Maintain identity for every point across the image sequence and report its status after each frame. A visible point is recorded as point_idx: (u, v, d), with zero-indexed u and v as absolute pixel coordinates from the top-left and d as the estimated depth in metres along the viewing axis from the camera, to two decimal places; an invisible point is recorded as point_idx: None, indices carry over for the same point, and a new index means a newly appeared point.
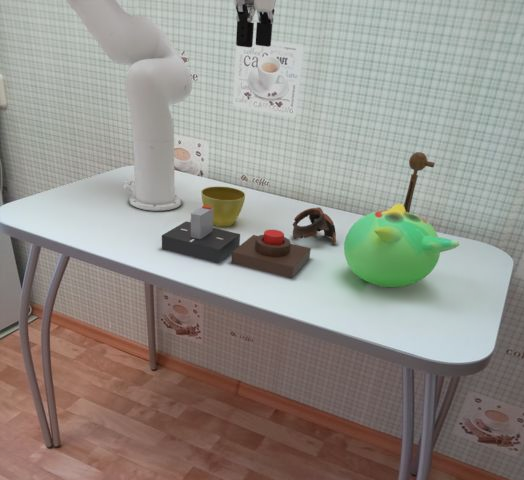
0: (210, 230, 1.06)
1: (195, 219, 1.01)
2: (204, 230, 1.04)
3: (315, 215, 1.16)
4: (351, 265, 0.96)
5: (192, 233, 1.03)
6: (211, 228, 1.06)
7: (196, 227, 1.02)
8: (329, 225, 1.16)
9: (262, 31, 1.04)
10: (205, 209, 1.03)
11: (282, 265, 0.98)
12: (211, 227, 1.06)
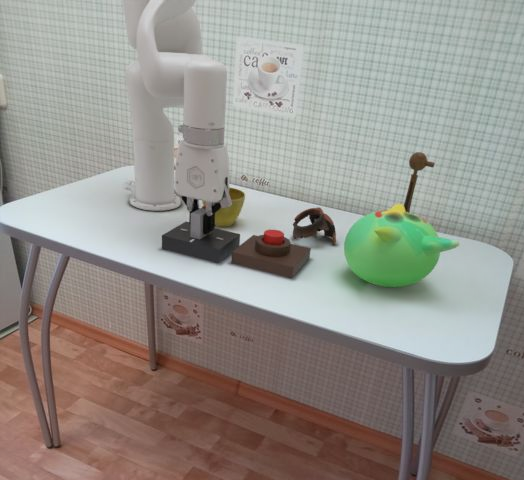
0: None
1: (195, 219, 1.01)
2: None
3: (315, 215, 1.16)
4: (351, 265, 0.96)
5: (192, 233, 1.03)
6: None
7: (196, 227, 1.02)
8: (329, 225, 1.16)
9: None
10: (205, 209, 1.03)
11: (282, 265, 0.98)
12: None
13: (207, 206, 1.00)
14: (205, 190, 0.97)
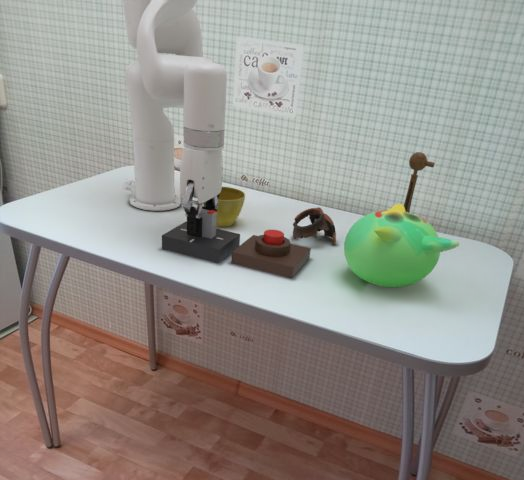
0: (207, 235, 1.04)
1: None
2: None
3: (315, 215, 1.16)
4: (351, 265, 0.96)
5: None
6: (209, 234, 1.03)
7: None
8: (329, 225, 1.16)
9: None
10: (206, 211, 1.02)
11: (282, 265, 0.98)
12: (209, 233, 1.03)
13: None
14: None
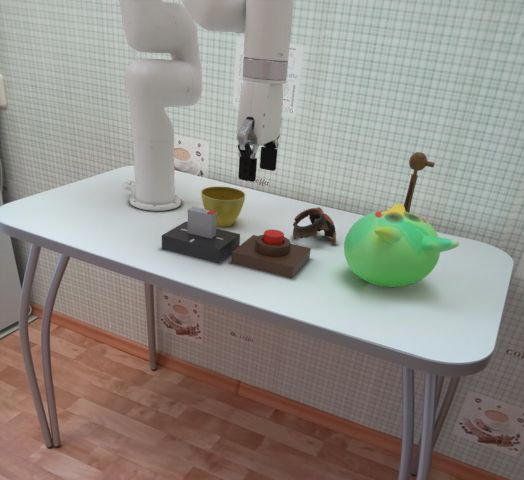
0: (207, 235, 1.04)
1: None
2: (195, 228, 1.04)
3: (315, 215, 1.16)
4: (351, 265, 0.96)
5: None
6: (209, 234, 1.03)
7: None
8: (329, 225, 1.16)
9: (267, 156, 0.98)
10: (206, 211, 1.02)
11: (282, 265, 0.98)
12: (209, 233, 1.03)
13: None
14: None
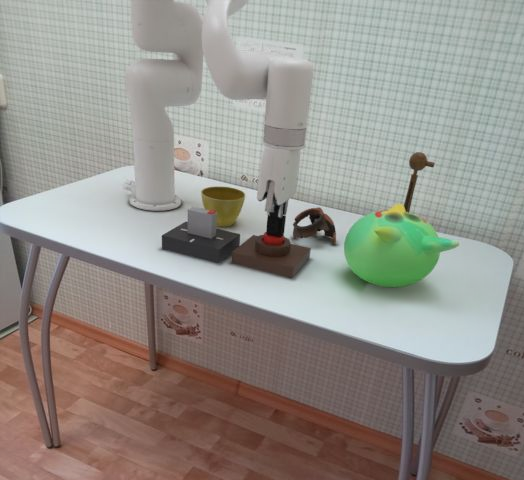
0: (207, 235, 1.04)
1: None
2: (195, 228, 1.04)
3: (315, 215, 1.16)
4: (351, 265, 0.96)
5: None
6: (209, 234, 1.03)
7: None
8: (329, 225, 1.16)
9: None
10: (206, 211, 1.02)
11: (282, 265, 0.98)
12: (209, 233, 1.03)
13: None
14: None
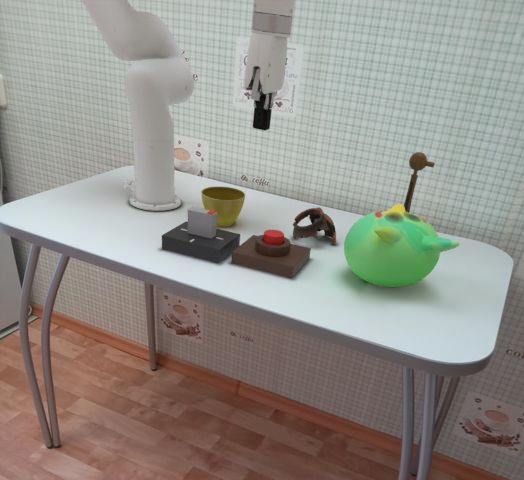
0: (207, 235, 1.04)
1: None
2: (195, 228, 1.04)
3: (315, 215, 1.16)
4: (351, 265, 0.96)
5: None
6: (209, 234, 1.03)
7: None
8: (329, 225, 1.16)
9: None
10: (206, 211, 1.02)
11: (282, 265, 0.98)
12: (209, 233, 1.03)
13: None
14: None
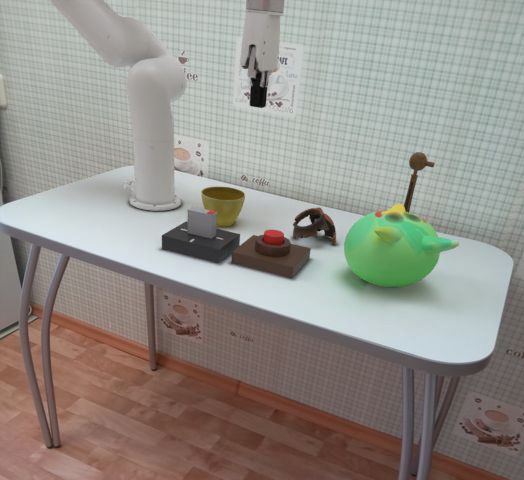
0: (207, 235, 1.04)
1: None
2: (195, 228, 1.04)
3: (315, 215, 1.16)
4: (351, 265, 0.96)
5: None
6: (209, 234, 1.03)
7: None
8: (329, 225, 1.16)
9: None
10: (206, 211, 1.02)
11: (282, 265, 0.98)
12: (209, 233, 1.03)
13: None
14: None
